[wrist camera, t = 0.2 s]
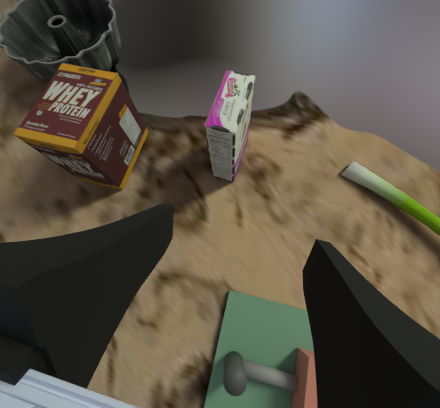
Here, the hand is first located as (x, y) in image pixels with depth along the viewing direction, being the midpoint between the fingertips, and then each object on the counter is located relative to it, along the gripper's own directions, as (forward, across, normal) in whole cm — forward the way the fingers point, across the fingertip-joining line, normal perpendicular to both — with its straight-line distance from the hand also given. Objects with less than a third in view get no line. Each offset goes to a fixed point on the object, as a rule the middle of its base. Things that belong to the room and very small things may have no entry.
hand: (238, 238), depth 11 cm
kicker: (+11, -8, +31) cm, 33 cm away
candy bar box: (+38, +6, +7) cm, 39 cm away
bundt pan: (+52, +51, -7) cm, 73 cm away
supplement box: (+34, +31, +10) cm, 47 cm away
